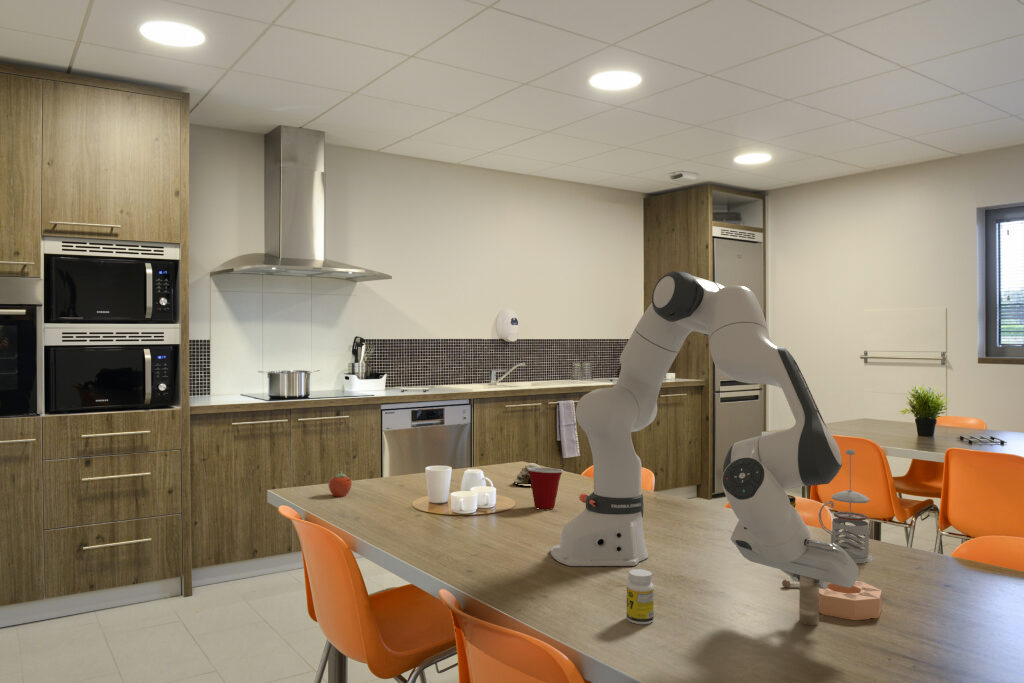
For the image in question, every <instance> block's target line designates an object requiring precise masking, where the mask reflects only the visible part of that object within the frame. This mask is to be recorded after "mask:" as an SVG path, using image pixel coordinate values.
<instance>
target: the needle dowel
mask: <svg viewBox="0 0 1024 683" xmlns="http://www.w3.org/2000/svg"><path fill="white" fill-rule="evenodd" d="M815 580H816V579H814V578H810V577H806V576H802V575H800V582H799V584H800V588H799V610H798V611H799V616H798V618H799V623H801V624H804V625H808V626H817V625H819V624H820V612H819V588H818V587H817V585H815V583H814V582H815Z"/></svg>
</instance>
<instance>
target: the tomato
mask: <svg viewBox="0 0 1024 683" xmlns="http://www.w3.org/2000/svg"><path fill="white" fill-rule="evenodd" d="M352 484H353V481H352V479H351V478H350V477H349V476H347V474H345V473H343V472H342V470H339V471H338V473H336V474H334V475H333V477H331V478H330V479H329V481H328V489H329V492H330V493H331V494H332V496H333V497H335V498H344V497H346V496H347V495H348V494H349V493H350V491H351V489H352V486H353V485H352Z"/></svg>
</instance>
